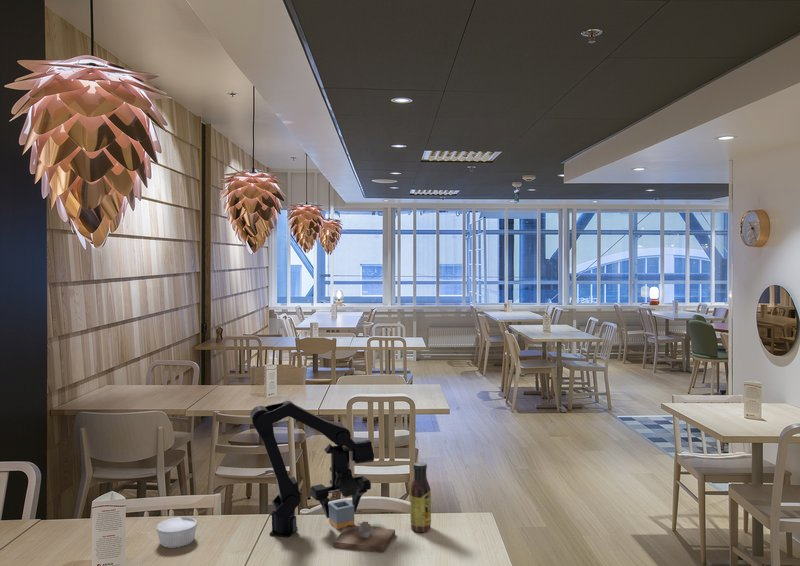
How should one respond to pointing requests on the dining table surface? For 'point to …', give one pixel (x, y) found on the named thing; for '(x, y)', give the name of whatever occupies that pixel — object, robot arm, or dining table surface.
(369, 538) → the pin board
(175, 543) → the ramekin
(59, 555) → the dining table surface
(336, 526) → the sleeve
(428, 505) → the sauce bottle
